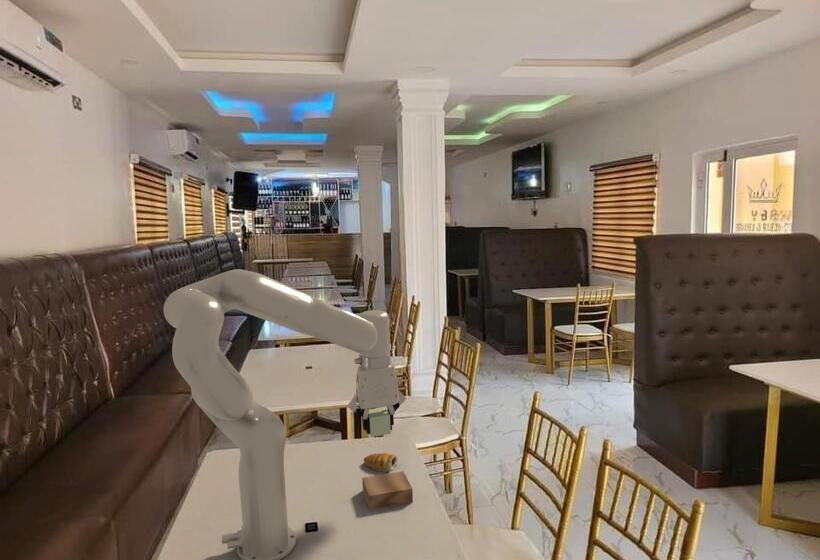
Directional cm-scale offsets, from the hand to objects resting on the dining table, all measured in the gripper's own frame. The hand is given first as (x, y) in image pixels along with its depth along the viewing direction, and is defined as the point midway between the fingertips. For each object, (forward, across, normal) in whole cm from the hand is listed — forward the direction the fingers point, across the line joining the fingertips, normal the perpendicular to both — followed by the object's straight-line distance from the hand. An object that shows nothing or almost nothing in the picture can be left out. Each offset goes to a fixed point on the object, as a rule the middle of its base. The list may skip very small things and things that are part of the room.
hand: (378, 429), depth 136 cm
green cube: (+1, 0, 0) cm, 1 cm away
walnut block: (+18, +1, -2) cm, 18 cm away
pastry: (+18, +4, +14) cm, 23 cm away
